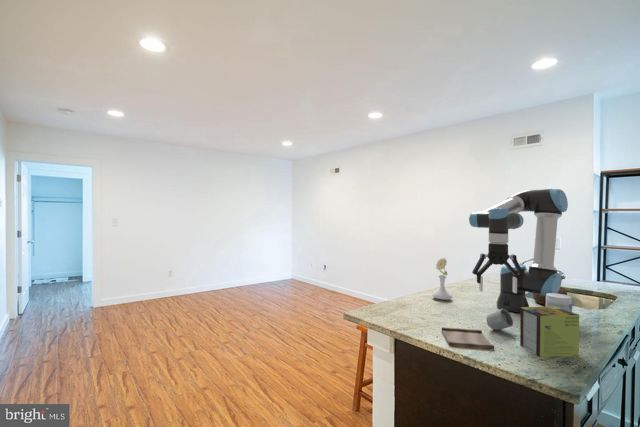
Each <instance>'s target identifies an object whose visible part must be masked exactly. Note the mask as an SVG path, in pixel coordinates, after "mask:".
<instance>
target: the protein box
mask: <svg viewBox="0 0 640 427" xmlns="http://www.w3.org/2000/svg"><path fill="white" fill-rule="evenodd" d="M519 313H520V318H519V319H520V322H519V323H520V326H519V328H520V330H519V332H520V334H519V341H520V342H519V344H520V346H521V347H523V349H525V348H526V349H525V350H527V351H529V352H530V351H531V352H530V353H532V354H533V355H535V354H536V356H537V357H539V358H552V357H551V356H561V357H575V356H574V355H579V356H580V314H578V313H575V312H573V311H572V312H570V311H567V310H565V309H562V308H559V307H557V306H551V307H546V306H529V307H521V308H520V312H519ZM572 355H573V356H572Z"/></svg>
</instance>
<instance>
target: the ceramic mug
mask: <svg viewBox="0 0 640 427" xmlns="http://www.w3.org/2000/svg"><path fill="white" fill-rule="evenodd" d="M486 325H487V326H488V327H489V328H491V329H492V330H493V331H500V330H505V329H508V328H511V327H513V326H514V319H513V318H512V316H511V314H510V311H507V310H505V309H500V308H499V309H498V310H495V311H494V312H491V313H489V314H488V315H487V316H486Z"/></svg>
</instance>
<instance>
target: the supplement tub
mask: <svg viewBox="0 0 640 427" xmlns="http://www.w3.org/2000/svg"><path fill="white" fill-rule="evenodd" d="M572 298H573V297H572V296H570V295H568V294H567V295H564V294H557V293H547V294H546V305H545V307H551V306H557V307H559V308H562V309H565V310H567V311H570V312H573V300H572Z"/></svg>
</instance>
